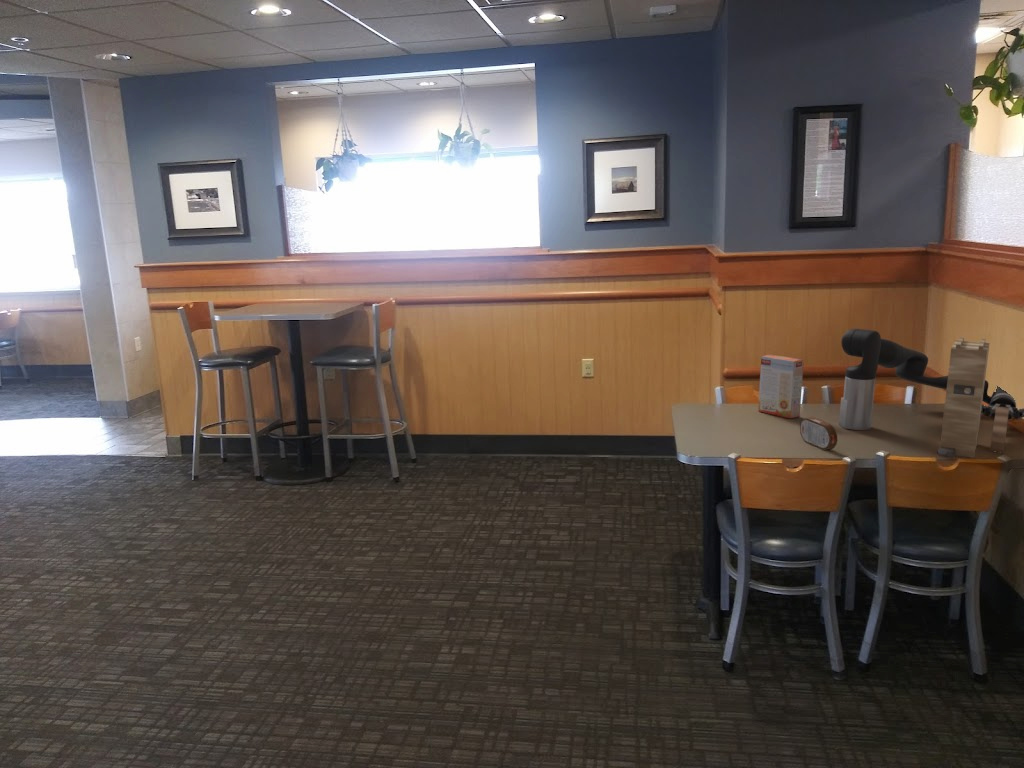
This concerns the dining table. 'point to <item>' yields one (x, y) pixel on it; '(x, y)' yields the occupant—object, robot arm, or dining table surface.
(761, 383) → the cracker box
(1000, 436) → the bar
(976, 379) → the stand
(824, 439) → the tin
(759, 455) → the dining table surface
